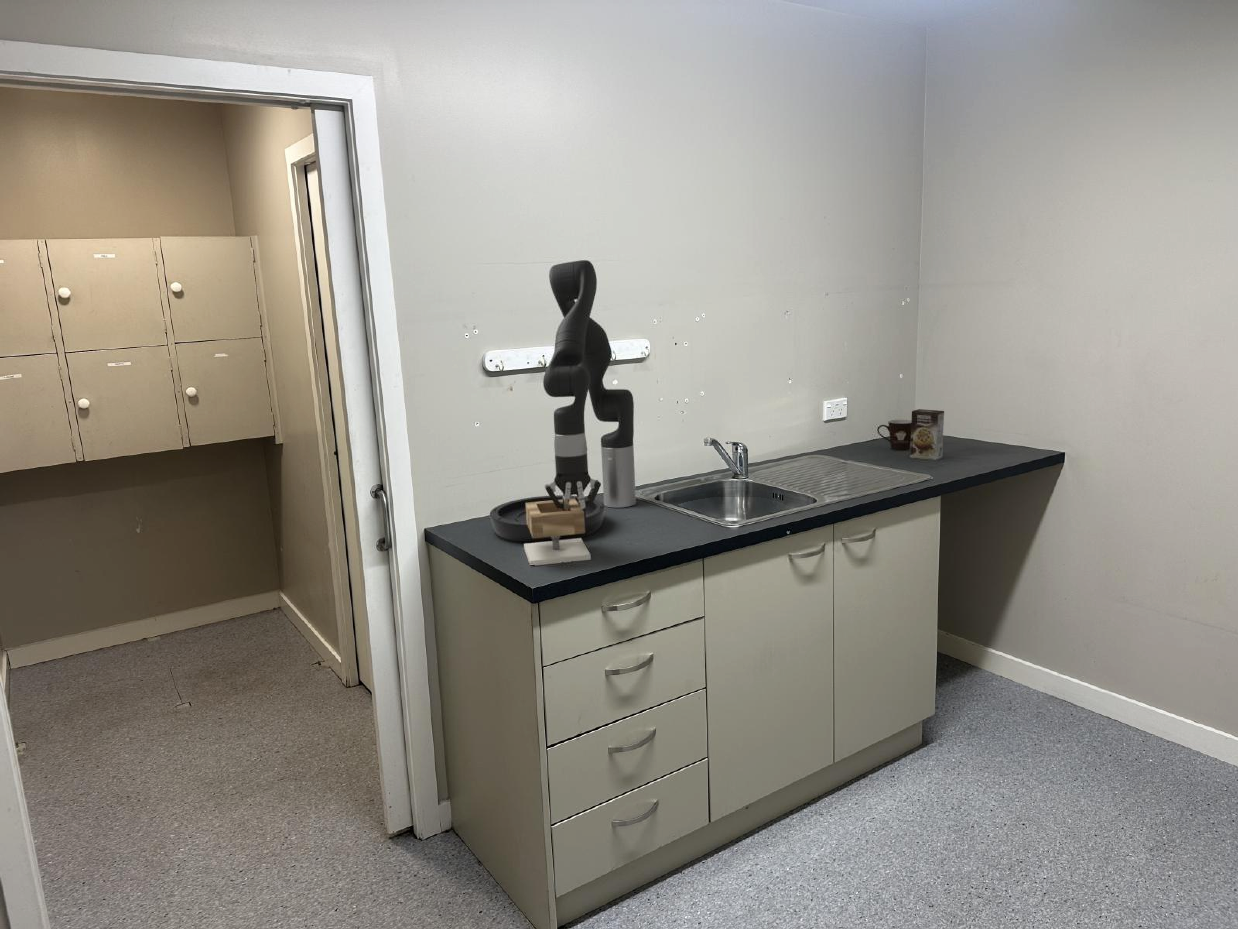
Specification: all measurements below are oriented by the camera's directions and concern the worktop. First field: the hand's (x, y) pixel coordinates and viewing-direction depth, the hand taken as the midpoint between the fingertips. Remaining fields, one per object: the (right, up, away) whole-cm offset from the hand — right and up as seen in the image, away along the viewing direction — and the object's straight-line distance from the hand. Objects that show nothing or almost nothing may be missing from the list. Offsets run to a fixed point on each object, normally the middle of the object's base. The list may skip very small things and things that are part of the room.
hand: (574, 523), depth 201 cm
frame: (-5, -1, -1) cm, 5 cm away
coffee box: (+115, +16, +89) cm, 147 cm away
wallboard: (-4, -7, 0) cm, 8 cm away
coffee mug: (+111, +19, +106) cm, 155 cm away
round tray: (-8, -3, +23) cm, 24 cm away
